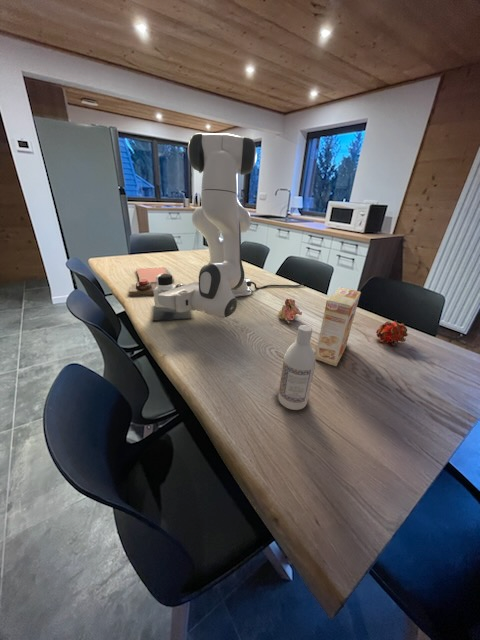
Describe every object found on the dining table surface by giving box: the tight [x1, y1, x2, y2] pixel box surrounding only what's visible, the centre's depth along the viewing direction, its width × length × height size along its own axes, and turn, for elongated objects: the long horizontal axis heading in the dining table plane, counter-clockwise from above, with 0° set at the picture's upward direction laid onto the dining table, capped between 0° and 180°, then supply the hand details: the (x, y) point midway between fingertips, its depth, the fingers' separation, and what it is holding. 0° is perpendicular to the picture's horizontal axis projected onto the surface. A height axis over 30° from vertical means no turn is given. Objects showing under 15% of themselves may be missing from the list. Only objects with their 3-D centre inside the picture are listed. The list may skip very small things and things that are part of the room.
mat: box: [152, 305, 192, 322], centre depth 106 cm, size 14×14×1 cm
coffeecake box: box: [314, 287, 362, 367], centre depth 81 cm, size 15×7×20 cm, turn 148°
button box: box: [128, 281, 157, 297], centre depth 125 cm, size 12×10×4 cm
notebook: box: [136, 266, 175, 284], centre depth 146 cm, size 27×17×2 cm, turn 24°
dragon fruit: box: [375, 320, 408, 346], centre depth 92 cm, size 8×8×12 cm
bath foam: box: [277, 324, 316, 411], centre depth 60 cm, size 7×7×20 cm
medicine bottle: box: [153, 273, 177, 308], centre depth 102 cm, size 7×7×12 cm
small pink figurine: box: [277, 297, 303, 324], centre depth 105 cm, size 9×10×10 cm
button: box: [138, 279, 148, 285], centre depth 123 cm, size 4×4×2 cm
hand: (168, 289), depth 102 cm, fingers closed on medicine bottle, 8 cm apart
